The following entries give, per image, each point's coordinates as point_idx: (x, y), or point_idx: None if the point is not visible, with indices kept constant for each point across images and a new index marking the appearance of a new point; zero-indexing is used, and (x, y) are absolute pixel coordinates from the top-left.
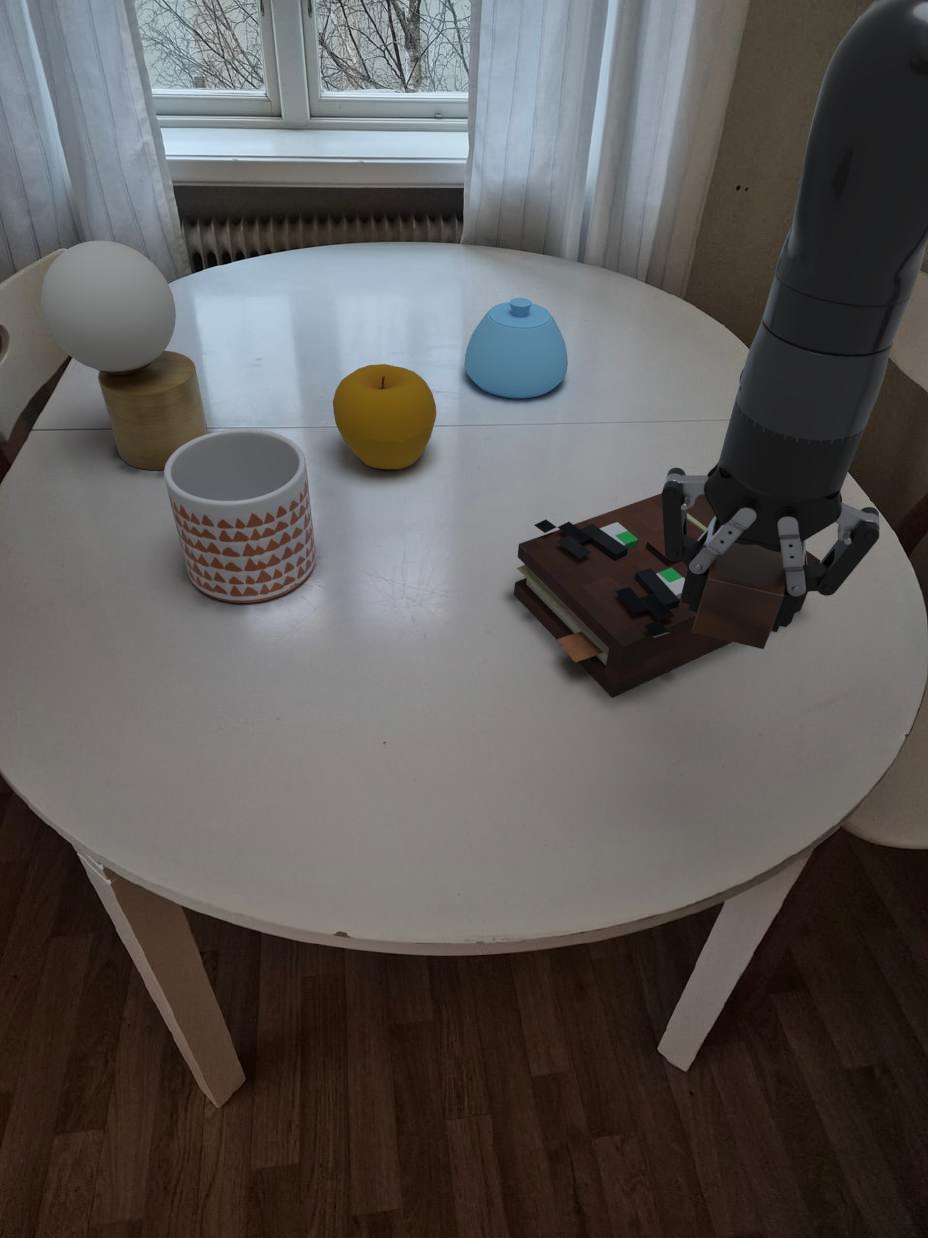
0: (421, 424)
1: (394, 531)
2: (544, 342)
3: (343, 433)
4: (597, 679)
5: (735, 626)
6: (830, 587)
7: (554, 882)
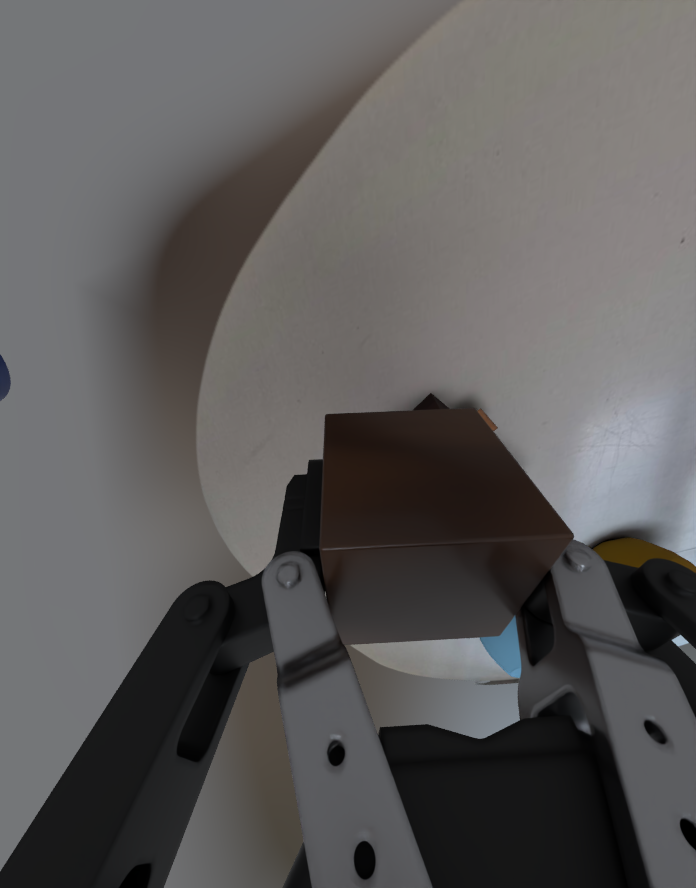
0: None
1: (617, 491)
2: (509, 655)
3: (687, 560)
4: (446, 406)
5: (403, 436)
6: (186, 617)
7: (488, 83)
